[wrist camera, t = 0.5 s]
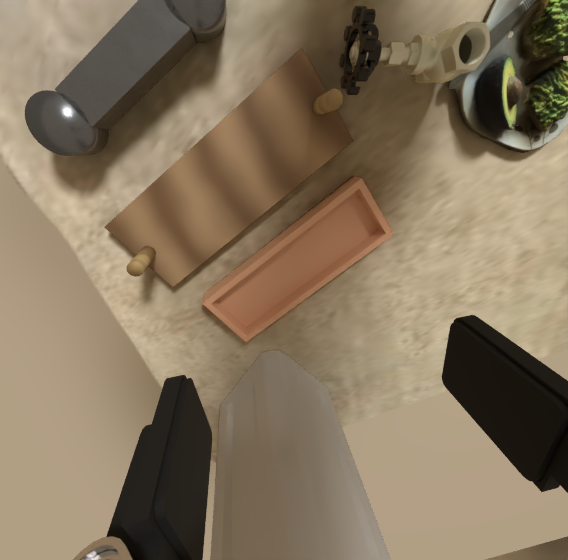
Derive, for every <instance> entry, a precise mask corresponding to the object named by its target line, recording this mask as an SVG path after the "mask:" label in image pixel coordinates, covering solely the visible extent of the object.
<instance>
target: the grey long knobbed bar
mask: <svg viewBox="0 0 568 560" xmlns="http://www.w3.org/2000/svg"><path fill="white" fill-rule="evenodd" d="M225 22H226V0H138V1H137V2H136V3H135V5H134V6H133V7H132V8H131V9H130V10H129V11H128V12H127V13H126V14H125V15H124V16H123V17H122V18H121V19H120V20H119V22H118V23H117V24H116V25H115V26H114V27H113V28H112V29H111V30H110V31H109V32H108V33H107V34H106V35H105V36H104V37H103V39H102V40H101V41H100V42H99V43H98V44H97V45H96V46H95V47H94V48H93V49H92V50H91V51H90V52H89V53H88V54H87V56H86V57H85V58H84V59H83V60H82V61H81V62H80V63H79V64H78V65H77V66H76V67H75V68H74V69H73V70H72V71H71V72H70V74H69V75H68V76H67V77H66V78H65V79H64V80H63V81H62V82H61V83H60V84H59V85H58V86H57V87H56V88H55V90H56V91H57V92H55V91H40V92H38V93H36V94H34V95H33V96H31V97H30V99H29V100H28V102H27V104H26V107H25V119H26V123H27V126H28V128H29V130H30V132H31V133H32V135H33V136H34V138H35V139H36V140H37V141H38V142H39V143H40V144H41V145H42V146H44V147H45V148H46V149H48V150H50V151H52V152H54V153H56V154H60V155H67V156H69V155H84V154H94V153H97V152H99V151H101V150H102V149H103V148H104V147H105V145H106V143H107V141H108V129H110V128H111V127H113V126H114V125H115V124H116V123H117V122H118V121H119V120H120V119H121V118H122V117H123V116H124V115H125V114H126V113H127V112H128V111H129V110H130V109H131V108H132V107H133V106H134V105H135V104H136V103H137V102H138V101H139V100H140V99H141V98H142V97H143V96H144V95H145V94H146V93H147V92H148V91H149V90H150V89H151V88H152V87H153V86H154V85H155V84H156V83H157V82H158V81H159V80H160V79H161V78H162V77H163V76H164V75H165V74H166V73H167V72H168V71H169V70H171V69H172V68H173V67H174V66H175V65H176V64H177V63H178V62H179V61H180V60H181V59H182V58H183V57H184V56H185V55H186V54H187V53H188V52H189V51H190V50H191V49H192V48H193V47H194V46H195V45H196V42H199V43H207V42H211V41H213V40H214V39H216V38H217V37H218V36H219V35H220V34H221V32H222V30H223V28H224V26H225Z"/></svg>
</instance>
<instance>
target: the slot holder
mask: <svg viewBox="0 0 568 560" xmlns="http://www.w3.org/2000/svg"><path fill="white" fill-rule="evenodd" d="M392 235H394V234H393V232H392V230H391V228H390V227H389V225H388V223H387V221H386V220H385V218H384V216H383V214H382V213H381V211H380V209H379V207H378V205H377V204H376V202H375V200H374V198H373V197H372V195H371V193H370V191H369V190H368V188H367V186H366V184H365V183H364V181H363V179H362V178H359V177H356V176H353V177H351V178H350V179H349V180H348V181H346V182H345V183H344V184H342V185H341V186H340V187H339V188H337V189H336V190H335V191H334V192H332V193H331V194H330V195H329V196H327V197H326V198H325V199H323V200H322V201H321V202H320V203H318V204H317V205H316V206H315V207H313V208H312V209H311V210H310V211H308V212H307V213H306V214H304V215H303V216H302V217H301V218H299V219H298V220H297V221H296V222H294V223H293V224H292V225H291V226H289V227H288V228H287V229H285V230H284V231H283V232H282V233H280V234H279V235H278V236H277V237H275V238H274V239H273V240H272V241H270V242H269V243H268V244H266V245H265V246H264V247H263V248H261V249H260V250H259V251H258V252H256V253H255V254H254V255H253V256H251V257H250V258H249V259H248V260H246V261H245V262H244V263H242V264H241V265H240V266H239V267H237V268H236V269H235V270H234V271H232V272H231V273H230V274H229V275H227V276H226V277H225V278H223V279H222V280H221V281H220V282H218V283H217V284H216V285H215V286H213V287H212V288H211V289H210V290H208V291H207V292H206V293H204V297H203V301H202V304H203V305H204V306H206V307H207V308H208V309H209V310H210V311H211V312H212V313H213V314H215V315H216V316H217V317H218V318H219V319H220V320H221V321H222V322H224V323H225V324H226V325H227V326H228V327H229V328H230V329H232V330H233V331H234V332H235V333H236V334H237V335H238V336H239V337H241V338H242V339H243V340H244V341H245V342H247V341H249V340H250V339H251V338H253V337H254V336H256V335H257V334H258V333H260V332H261V331H262V330H264V329H265V328H266V327H268V326H269V325H271V324H272V323H273V322H275V321H276V320H277V319H279V318H280V317H282V316H283V315H284V314H286V313H287V312H288V311H290V310H291V309H293V308H294V307H295V306H297V305H298V304H299V303H301V302H302V301H303V300H305V299H306V298H308V297H309V296H310V295H312V294H313V293H314V292H316V291H317V290H319V289H320V288H321V287H323V286H324V285H325V284H327V283H328V282H329V281H331V280H332V279H334V278H335V277H336V276H338V275H339V274H340V273H342V272H343V271H345V270H346V269H347V268H349V267H350V266H351V265H353V264H354V263H355V262H357V261H358V260H360V259H361V258H362V257H364V256H365V255H366V254H368V253H369V252H371V251H372V250H373V249H375V248H376V247H377V246H379V245H380V244H382V243H383V242H384V241H386V240H387V239H388V238H390V237H391V236H392Z"/></svg>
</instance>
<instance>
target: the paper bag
mask: <svg viewBox="0 0 568 560" xmlns="http://www.w3.org/2000/svg"><path fill="white" fill-rule="evenodd" d="M210 560H391V558H390V555H389V553H388V550H387V547H386V545H385V542H384V539H383V537H382V534H381V532H380V529H379V526H378V523H377V520H376V518H375V515H374V512H373V510H372V507H371V504H370V502H369V499H368V496H367V494H366V491H365V488H364V486H363V483H362V480H361V478H360V475H359V472H358V469H357V467H356V465H355V461H354V459H353V456H352V453H351V450H350V448H349V445H348V442H347V440H346V437H345V434H344V432H343V429H342V426H341V424H340V421H339V418H338V415H337V413H336V410H335V407H334V405H333V402H332V399H331V397H330V394H329V391H328V389H327V387H326V386H324V385H323V384H322V383H321V382H319V381H318V380H317V379H316V378H315V377H313V376H312V375H311V374H310V373H308V372H307V371H306V370H305V369H303V368H302V367H301V366H300V365H298V364H297V363H296V362H295V361H294V360H292V359H291V358H290V357H289V356H287V355H286V354H285V353H284V352H282V351H280V350H273V351H266V352H263V353H261V354H260V355H259V356H258V358H257V359H256V360H255V362H254V363H253V364H252V365H251V367H250V368H249V369H248V370H247V372H246V373H245V374H244V375H243V377H242V378H241V379H240V381H239V382H238V383H237V384H236V386H235V387H234V388H233V389H232V391H231V392H230V393H229V394H228V396H227V397H226V398H225V399H224V401H223V402H222V403H221V405H220V415H219V431H218V447H217V462H216V479H215V495H214V511H213V527H212V541H211V559H210Z"/></svg>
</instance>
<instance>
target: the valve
mask: <svg viewBox="0 0 568 560" xmlns="http://www.w3.org/2000/svg"><path fill="white" fill-rule="evenodd" d="M374 20H375V10H374V9H367V8H366V6H355V7H354V9H353V13H352V22H353V24H352V26H346V28H345V31H344V40H345V41H346V48H345V53H344V54H342V55H341V57H340V67H341V68H344V75H343V76H342V78H341V88H342V89H346V92H347V95H357V94H358V93H359V89H360V87H355V84H356V81H364V82H365V81H367V79H368V77H369V76H370V75H371V74H372V72H373V70H374V68H375V66H376V65H377V64H378V62H379V61H383V64H384V66H390V67H396V66H399V65H401V63H402V66H403V67H405V71H406V73H407V74H411V75H414V77H415V80H416V83H435V82H437V83H443V82H448V81H450V80H452V79H454V78H456V77H457V76H458V75H460V74H464V73H467V72H471V71H474V70H476V68H477V67H478V66H479V65H480V63H481V62H482V60H483V59H484V58H485V56H486V54H487V53H488V51H489V49H490V35H489V30H488V26H487V24H486V23H483V22H466V23H464V24H462V25H460V26H458V27H456V28H451V29H448V30H446V31H444V32H442V33H440V34H439V35H438V36H436V37H435V38H434V39H433V40H431V38H430V36H427V35H417V36H415V37H414V38H413V40H412V41H411V43H410V44H408V45H406V47H405V45H404V42H390V43H388V44H387V46H386V48H384V47H382V46H381V42H380V41H379V40H378V34H379V33H378V28H377V27H376V25H375V24H374ZM368 31H371V33H372V35H369V34H368ZM358 33H359V41H356V42H355V39H356V37H357V34H358ZM352 65H356V66H355V69H354V71H353V72H352Z"/></svg>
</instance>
